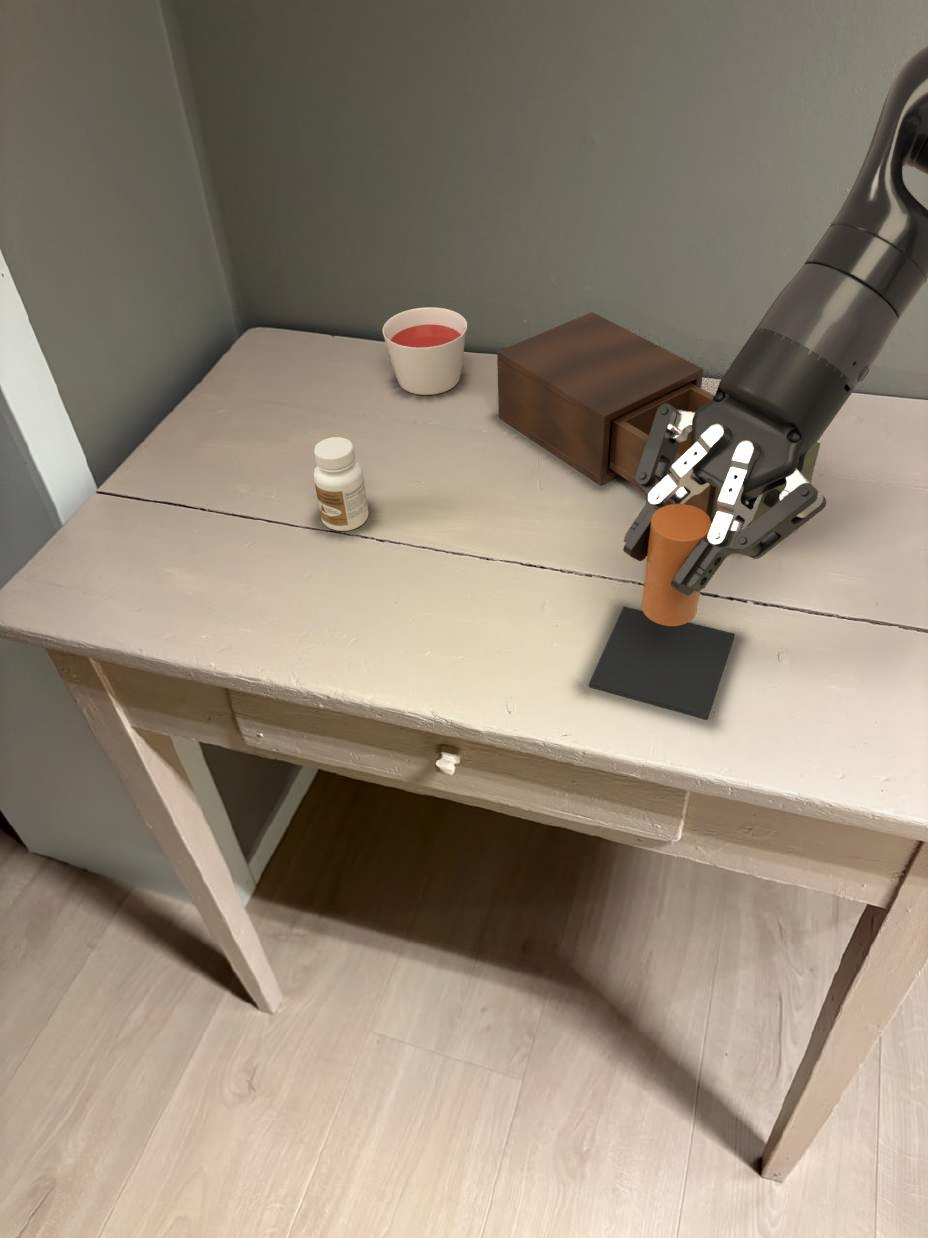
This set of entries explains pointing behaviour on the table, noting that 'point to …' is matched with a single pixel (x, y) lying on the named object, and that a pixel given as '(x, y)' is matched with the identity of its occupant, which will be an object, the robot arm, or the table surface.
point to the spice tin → (672, 562)
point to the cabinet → (584, 387)
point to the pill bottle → (339, 485)
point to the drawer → (635, 431)
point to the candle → (426, 348)
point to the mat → (663, 663)
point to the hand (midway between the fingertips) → (656, 572)
